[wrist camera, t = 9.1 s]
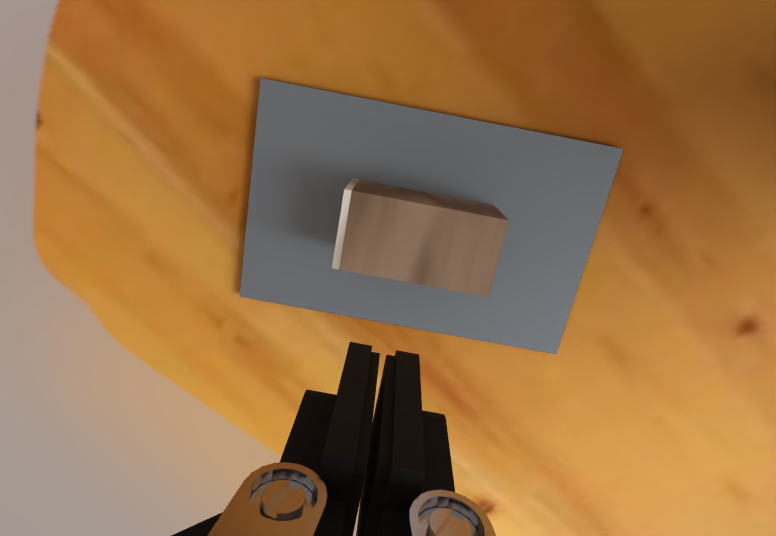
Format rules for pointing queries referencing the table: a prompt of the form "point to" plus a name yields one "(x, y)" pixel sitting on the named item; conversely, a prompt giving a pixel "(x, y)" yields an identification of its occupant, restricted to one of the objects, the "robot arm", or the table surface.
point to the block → (419, 237)
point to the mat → (427, 174)
